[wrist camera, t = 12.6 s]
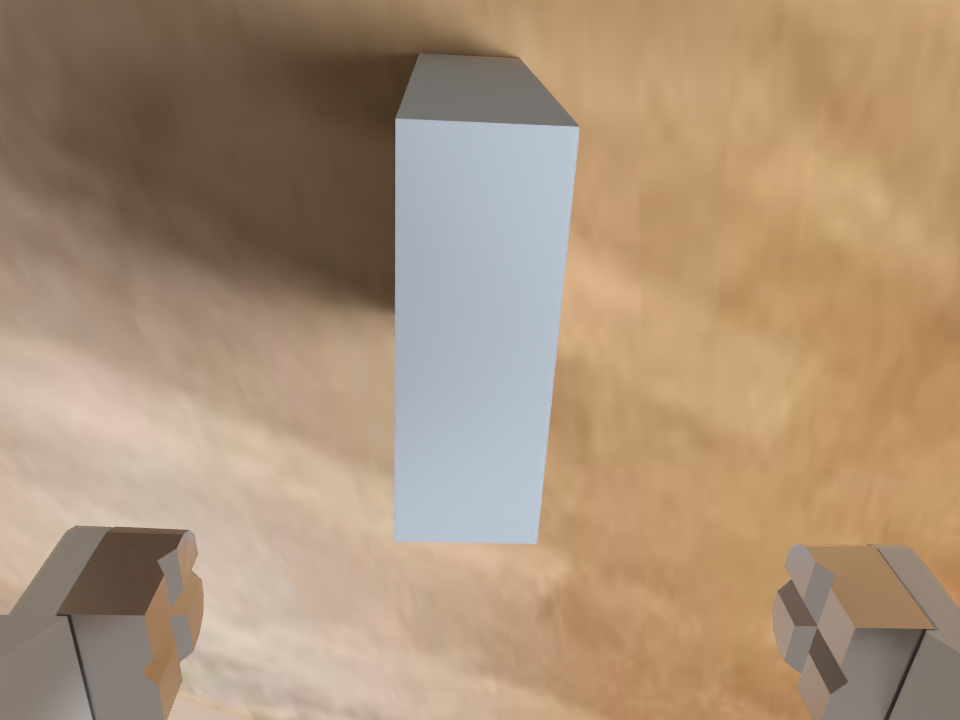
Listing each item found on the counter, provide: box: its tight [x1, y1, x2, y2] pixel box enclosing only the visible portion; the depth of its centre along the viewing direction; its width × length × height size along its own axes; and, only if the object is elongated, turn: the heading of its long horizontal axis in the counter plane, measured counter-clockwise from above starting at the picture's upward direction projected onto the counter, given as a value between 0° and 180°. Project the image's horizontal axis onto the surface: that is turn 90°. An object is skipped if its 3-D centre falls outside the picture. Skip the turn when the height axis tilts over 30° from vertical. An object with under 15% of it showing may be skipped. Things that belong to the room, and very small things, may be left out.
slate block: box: [394, 53, 580, 544], centre depth 23 cm, size 4×10×14 cm, turn 177°
